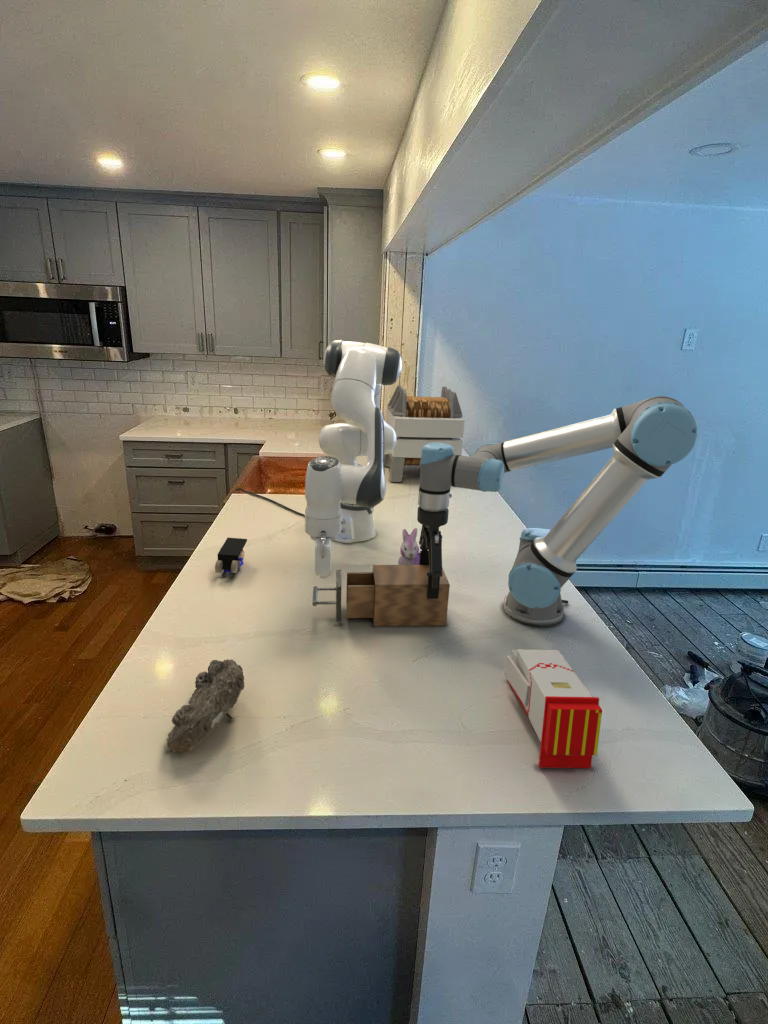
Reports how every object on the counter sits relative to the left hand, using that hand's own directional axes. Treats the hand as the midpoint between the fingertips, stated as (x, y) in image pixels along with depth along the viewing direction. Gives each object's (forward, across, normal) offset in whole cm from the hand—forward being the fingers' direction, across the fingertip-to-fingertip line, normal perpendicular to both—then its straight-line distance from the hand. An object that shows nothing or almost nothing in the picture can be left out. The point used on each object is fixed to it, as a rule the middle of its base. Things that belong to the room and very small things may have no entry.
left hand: (323, 576), depth 142 cm
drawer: (+10, 0, -9) cm, 13 cm away
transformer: (+11, +134, -45) cm, 142 cm away
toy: (+11, -40, -44) cm, 60 cm away
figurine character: (+11, +27, +27) cm, 39 cm away
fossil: (+11, -38, +20) cm, 44 cm away
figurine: (+11, +22, -26) cm, 35 cm away
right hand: (+3, 0, -27) cm, 27 cm away
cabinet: (+11, 0, -22) cm, 25 cm away
